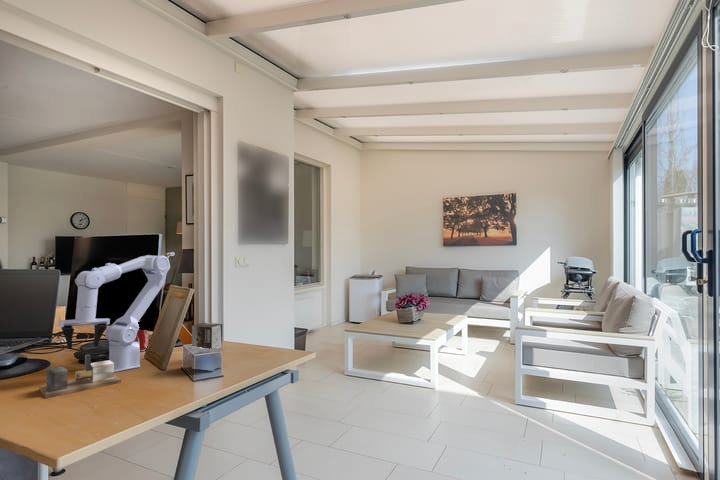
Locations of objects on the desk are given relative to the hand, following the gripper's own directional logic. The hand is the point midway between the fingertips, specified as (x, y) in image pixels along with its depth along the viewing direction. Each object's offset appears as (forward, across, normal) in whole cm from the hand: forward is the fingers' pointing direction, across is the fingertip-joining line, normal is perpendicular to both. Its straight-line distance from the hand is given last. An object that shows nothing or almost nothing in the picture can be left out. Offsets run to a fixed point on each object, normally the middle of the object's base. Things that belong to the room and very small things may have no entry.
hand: (82, 347), depth 141 cm
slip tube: (+8, -1, +9) cm, 12 cm away
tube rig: (+11, +2, +8) cm, 14 cm away
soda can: (+8, -29, -25) cm, 39 cm away
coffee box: (+8, -35, +19) cm, 41 cm away
